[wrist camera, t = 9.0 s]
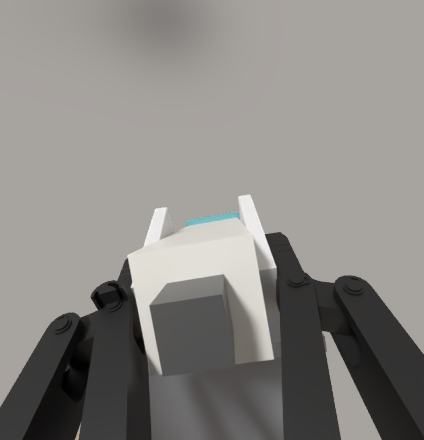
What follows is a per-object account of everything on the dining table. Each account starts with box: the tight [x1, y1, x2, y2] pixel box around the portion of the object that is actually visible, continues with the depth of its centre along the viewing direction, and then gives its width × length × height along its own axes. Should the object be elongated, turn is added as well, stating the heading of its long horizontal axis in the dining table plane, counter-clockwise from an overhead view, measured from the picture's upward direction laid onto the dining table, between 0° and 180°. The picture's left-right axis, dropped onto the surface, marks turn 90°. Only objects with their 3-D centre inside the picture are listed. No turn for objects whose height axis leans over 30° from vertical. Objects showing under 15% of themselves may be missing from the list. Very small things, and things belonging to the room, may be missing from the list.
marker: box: [127, 212, 274, 377], centre depth 18 cm, size 5×22×5 cm, turn 176°
